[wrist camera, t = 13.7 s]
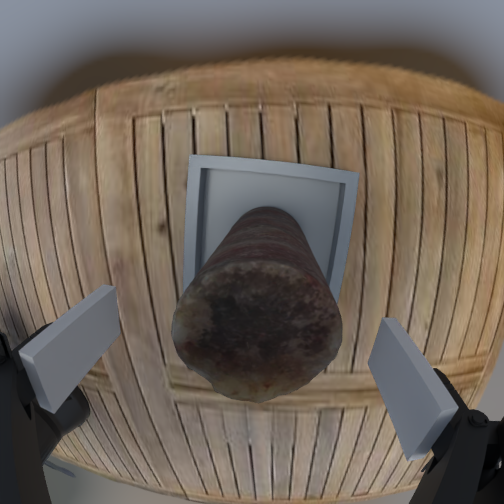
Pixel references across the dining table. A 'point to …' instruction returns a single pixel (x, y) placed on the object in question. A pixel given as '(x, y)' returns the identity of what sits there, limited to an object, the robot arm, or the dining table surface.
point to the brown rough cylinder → (258, 311)
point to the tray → (269, 195)
